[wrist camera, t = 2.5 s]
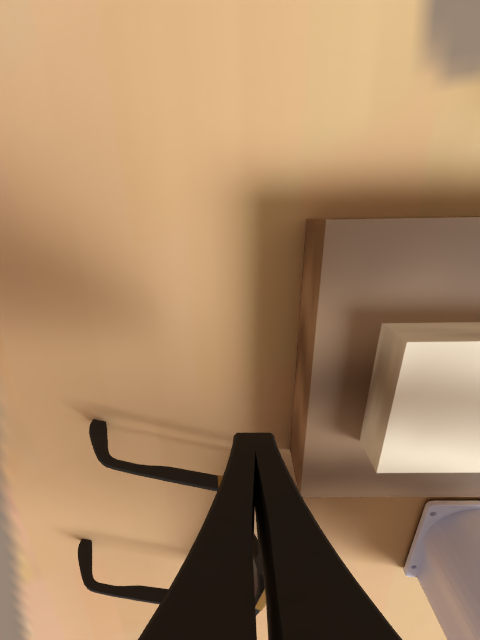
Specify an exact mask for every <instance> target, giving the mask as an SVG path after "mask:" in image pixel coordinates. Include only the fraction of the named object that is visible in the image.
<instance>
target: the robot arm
mask: <svg viewBox="0 0 480 640" xmlns="http://www.w3.org/2000/svg"><path fill="white" fill-rule="evenodd" d="M254 512H256V520H257V528H258V536H259V544H260V552H261V560H262V569H263V577H264V585H265V595H266V606H267V623H268V640H402V639H401V637H400V636H399V635H398V634H397V633H396V631H395V630H394V629H393V628H392V626H391V625H390V624H389V623H388V621H387V620H386V619H385V617H384V616H383V615H382V613H381V612H380V611H379V610H378V608H377V607H376V606H375V604H374V603H373V602H372V600H371V599H370V598H369V597H368V595H367V594H366V593H365V591H364V590H363V589H362V587H361V586H360V585H359V583H358V582H357V581H356V579H355V578H354V577H353V575H352V574H351V573H350V571H349V570H348V568H347V567H346V565H345V564H344V563H343V561H342V560H341V558H340V557H339V556H338V554H337V553H336V551H335V550H334V548H333V547H332V545H331V544H330V542H329V541H328V539H327V538H326V536H325V535H324V533H323V531H322V530H321V528H320V527H319V525H318V523H317V522H316V520H315V519H314V517H313V515H312V514H311V512H310V510H309V508H308V507H307V505H306V503H305V502H304V500H303V498H302V496H301V495H300V493H299V491H298V489H297V487H296V485H295V483H294V481H293V479H292V478H291V476H290V474H289V472H288V470H287V467H286V465H285V463H284V461H283V459H282V457H281V454H280V452H279V449H278V447H277V444H276V441H275V439H274V435H273V434H272V433H236V434H235V435H234V439H233V445H232V449H231V453H230V457H229V460H228V463H227V467H226V470H225V472H224V475H223V478H222V481H221V483H220V486H219V489H218V491H217V494H216V496H215V499H214V501H213V503H212V506H211V508H210V510H209V513H208V515H207V517H206V519H205V521H204V524H203V526H202V528H201V530H200V532H199V534H198V536H197V538H196V540H195V542H194V544H193V546H192V548H191V550H190V552H189V554H188V556H187V557H186V559H185V561H184V563H183V565H182V567H181V568H180V570H179V572H178V574H177V576H176V578H175V579H174V581H173V583H172V585H171V586H170V588H169V590H168V592H167V593H166V595H165V597H164V598H163V600H162V602H161V603H160V605H159V607H158V608H157V610H156V612H155V613H154V615H153V616H152V618H151V620H150V621H149V623H148V624H147V626H146V628H145V629H144V631H143V632H142V634H141V636H140V637H139V639H138V640H257V636H256V613H255V590H254V567H253V539H254ZM404 573H405V575H406V576H408V577H417V578H418V580H419V582H420V585H421V587H422V589H423V591H424V593H425V595H426V597H427V599H428V601H429V603H430V605H431V607H432V609H433V611H434V613H435V615H436V617H437V619H438V622H439V624H440V626H441V628H442V630H443V632H444V634H445V636H446V638H447V640H480V500H477V501H429V502H427V503H426V505H425V508H424V511H423V514H422V517H421V520H420V522H419V525H418V528H417V531H416V534H415V537H414V540H413V543H412V546H411V549H410V552H409V555H408V558H407V561H406V564H405V566H404Z"/></svg>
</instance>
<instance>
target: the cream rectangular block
mask: <svg viewBox="0 0 480 640" xmlns="http://www.w3.org/2000/svg"><path fill="white" fill-rule="evenodd" d="M360 442H361V444H362V446H363V448H364V450H365V452H366V454H367V456H368V458H369V460H370V461H371V463H372V465H373V467H374V469H375V471H376V473H480V322H447V323H382V325H381V330H380V335H379V341H378V346H377V351H376V357H375V362H374V367H373V373H372V378H371V383H370V388H369V394H368V399H367V404H366V410H365V415H364V420H363V426H362V431H361V436H360Z"/></svg>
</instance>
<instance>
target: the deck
mask: <svg viewBox="0 0 480 640" xmlns="http://www.w3.org/2000/svg"><path fill="white" fill-rule="evenodd" d="M447 322H480V217H414V218H348V219H306V233H305V247H304V262H303V276H302V290H301V305H300V319H299V333H298V348H297V362H296V376H295V391H294V405H293V419H292V434H291V448H290V452H291V457H292V462H293V467H294V472H295V476H296V481H297V486H298V491H299V493H300V495H301V496H302V498H331V497H480V473H376V471H375V469H374V467H373V465H372V463H371V461H370V460H369V458H368V456H367V454H366V452H365V450H364V448H363V446H362V444H361V442H360V436H361V431H362V426H363V420H364V415H365V410H366V404H367V399H368V394H369V388H370V383H371V378H372V373H373V367H374V362H375V357H376V351H377V346H378V341H379V335H380V330H381V325H382V323H447Z"/></svg>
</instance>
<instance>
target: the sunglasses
mask: <svg viewBox="0 0 480 640" xmlns="http://www.w3.org/2000/svg"><path fill="white" fill-rule="evenodd" d="M89 434H90V439H91V443H92V446H93V449H94V452H95V454H96V456H97V458H98V460H99V461H100V462H101V463H102V464H103V465H104V466H106V467H108V468H111V469H114V470H118V471H122V472H126V473H131V474H135V475H139V476H144V477H149V478H154V479H159V480H163V481H168V482H173V483H178V484H183V485H188V486H193V487H198V488H203V489H208V490H213V491H218V489H219V486H220V483H221V481H222V478H223V476H217V475H212V474H206V473H200V472H195V471H189V470H184V469H178V468H173V467H165V466H148V465H139V464H134V463H130V462H125V461H121V460H117V459H115V458H113V457H112V456H110V454H109V451H108V439H107V425H106V422H104V421H99V420H93V421H92V422H91V424H90V428H89ZM256 523H257V520H256ZM257 535H258V528H257ZM78 560H79V566H80V571H81V576H82V579H83V582H84V585H85V586H86V587H87V589H89V590H90V591H92V592H95V593H100V594H104V595H109V596H113V597H119V598H125V599H131V600H136V601H142V602H149V603H155V604H160V603H161V602H162V600H163V598H164V597H165V595H166V593H167V592H168V590H169V589H162V588H155V587H147V586H113V585H108V584H103V583H98V582H96V581H95V580H94V578H93V575H92V541H91V540H85V539H82V540H81V542H80V544H79V547H78ZM253 567H254V590H255V613H256V615H257V614H258V613H259V612H260V611H262V609H263V608H264V607H265V605H266V595H265V585H264V577H263V569H262V560H261V552H260V544H259V536H258V540H257V538H256V536H255V534H254V539H253Z"/></svg>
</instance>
